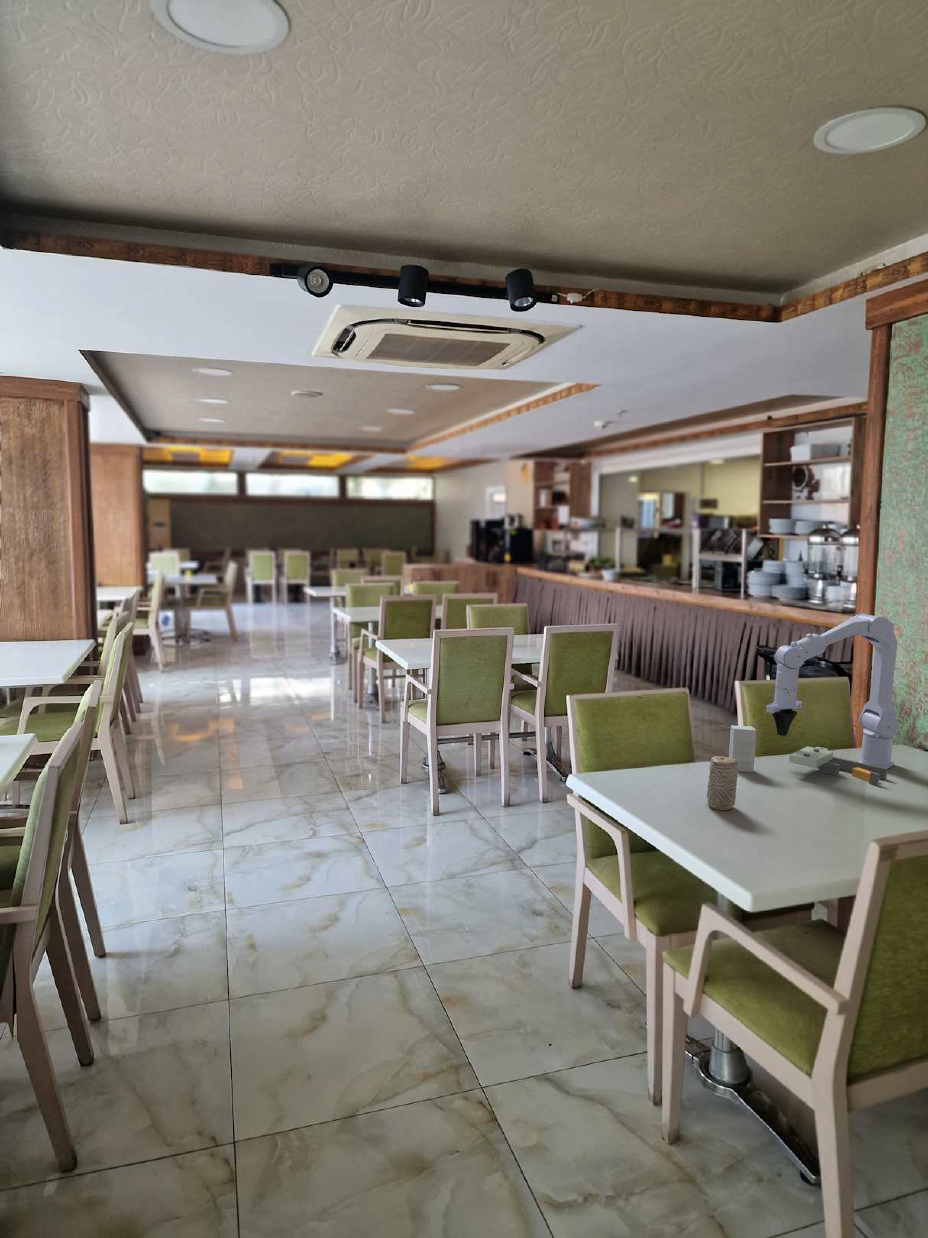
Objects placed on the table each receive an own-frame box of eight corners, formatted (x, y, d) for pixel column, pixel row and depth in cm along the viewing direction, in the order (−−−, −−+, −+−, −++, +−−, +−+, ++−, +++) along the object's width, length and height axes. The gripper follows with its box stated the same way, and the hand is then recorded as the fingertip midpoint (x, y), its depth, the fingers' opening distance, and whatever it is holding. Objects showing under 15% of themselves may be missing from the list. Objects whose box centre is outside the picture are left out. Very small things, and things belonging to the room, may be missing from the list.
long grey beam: (828, 766, 220) (829, 755, 219) (886, 779, 210) (887, 768, 209) (818, 771, 214) (819, 761, 214) (877, 785, 204) (878, 774, 203)
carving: (701, 807, 182) (704, 758, 180) (714, 800, 188) (717, 752, 186) (727, 815, 178) (731, 764, 176) (739, 807, 183) (743, 758, 182)
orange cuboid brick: (857, 775, 212) (858, 767, 212) (875, 782, 208) (876, 773, 207) (851, 776, 211) (852, 768, 211) (869, 782, 207) (870, 774, 206)
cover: (833, 769, 216) (835, 749, 215) (814, 780, 205) (816, 759, 205) (808, 763, 221) (810, 743, 220) (787, 774, 210) (789, 753, 209)
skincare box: (749, 767, 215) (752, 726, 214) (753, 772, 211) (757, 730, 209) (727, 766, 216) (730, 724, 214) (730, 771, 211) (734, 728, 210)
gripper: (784, 693, 210) (779, 741, 212) (813, 688, 218) (809, 735, 220) (761, 688, 216) (757, 735, 217) (791, 684, 224) (786, 729, 226)
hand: (781, 735), depth 219 cm, fingers closed
